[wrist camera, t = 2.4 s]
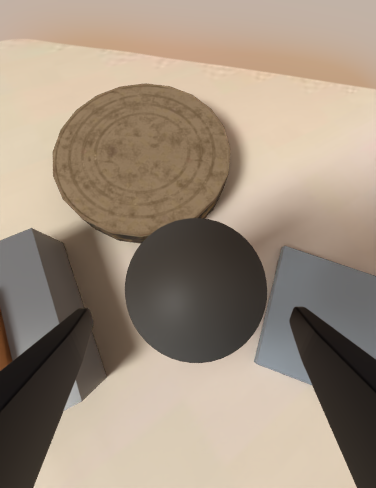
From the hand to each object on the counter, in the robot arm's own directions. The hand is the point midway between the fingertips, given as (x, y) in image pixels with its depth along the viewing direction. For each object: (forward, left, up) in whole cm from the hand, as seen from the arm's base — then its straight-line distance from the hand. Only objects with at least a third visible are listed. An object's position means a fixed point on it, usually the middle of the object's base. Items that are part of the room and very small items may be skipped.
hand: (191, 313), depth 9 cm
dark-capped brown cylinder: (+1, 0, -9) cm, 9 cm away
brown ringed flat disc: (+14, -2, -9) cm, 17 cm away
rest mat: (-6, -10, -9) cm, 15 cm away
